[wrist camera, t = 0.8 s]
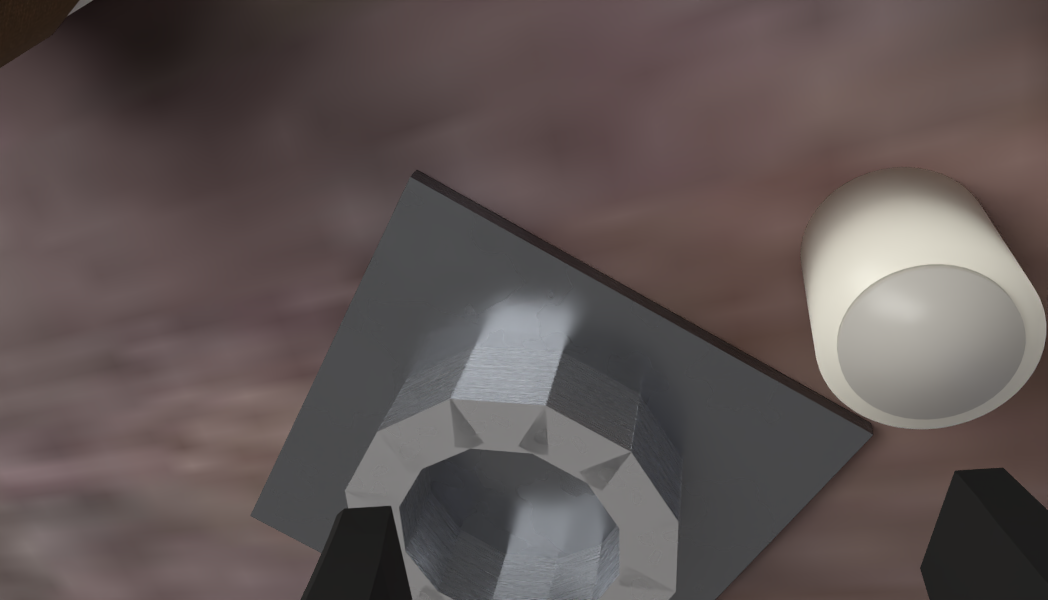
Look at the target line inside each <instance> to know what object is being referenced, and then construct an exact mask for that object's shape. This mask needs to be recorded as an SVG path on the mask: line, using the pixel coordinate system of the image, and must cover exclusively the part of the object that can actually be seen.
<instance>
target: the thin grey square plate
mask: <svg viewBox="0 0 1048 600" xmlns="http://www.w3.org/2000/svg"><path fill="white" fill-rule="evenodd" d="M872 435H873V431H872V427H871V423H869V422H868V421H866V420H864V419H862V418H860V417H859V416H857V415H855V414H853V413H851V412H850V411H848V410H846V409H844V408H842V407H841V406H839V405H837V404H835V403H833V402H832V401H830V400H828V399H826V398H825V397H823V396H821V395H819V394H817V393H816V392H814V391H812V390H810V389H808V388H807V387H805V386H803V385H801V384H799V383H798V382H796V381H794V380H792V379H790V378H789V377H787V376H785V375H783V374H781V373H780V372H778V371H776V370H774V369H773V368H771V367H769V366H767V365H765V364H764V363H762V362H760V361H758V360H756V359H755V358H753V357H751V356H749V355H747V354H746V353H744V352H742V351H740V350H738V349H737V348H735V347H733V346H731V345H729V344H728V343H726V342H724V341H722V340H721V339H719V338H717V337H715V336H713V335H712V334H710V333H708V332H706V331H704V330H703V329H701V328H699V327H697V326H695V325H694V324H692V323H690V322H688V321H686V320H685V319H683V318H681V317H679V316H677V315H676V314H674V313H672V312H670V311H669V310H667V309H665V308H663V307H661V306H660V305H658V304H656V303H654V302H652V301H651V300H649V299H647V298H645V297H643V296H642V295H640V294H638V293H636V292H634V291H633V290H631V289H629V288H627V287H625V286H624V285H622V284H620V283H618V282H617V281H615V280H613V279H611V278H609V277H608V276H606V275H604V274H602V273H600V272H599V271H597V270H595V269H593V268H591V267H590V266H588V265H586V264H584V263H582V262H581V261H579V260H577V259H575V258H573V257H572V256H570V255H568V254H566V253H565V252H563V251H561V250H559V249H557V248H556V247H554V246H552V245H550V244H548V243H547V242H545V241H543V240H541V239H539V238H538V237H536V236H534V235H532V234H530V233H529V232H527V231H525V230H523V229H521V228H520V227H518V226H516V225H514V224H513V223H511V222H509V221H507V220H505V219H504V218H502V217H500V216H498V215H496V214H495V213H493V212H491V211H489V210H487V209H486V208H484V207H482V206H480V205H478V204H477V203H475V202H473V201H471V200H469V199H468V198H466V197H464V196H462V195H461V194H459V193H457V192H455V191H453V190H452V189H450V188H448V187H446V186H444V185H443V184H441V183H439V182H437V181H435V180H434V179H432V178H430V177H428V176H426V175H425V174H423V173H421V172H419V171H417V170H416V171H415V172H414V173H413V174H412V176H411V177H410V179H409V181H408V183H407V185H406V187H405V189H404V191H403V194H402V196H401V198H400V200H399V202H398V204H397V206H396V208H395V211H394V213H393V215H392V217H391V219H390V221H389V223H388V225H387V227H386V230H385V232H384V234H383V236H382V238H381V240H380V242H379V244H378V247H377V249H376V251H375V253H374V255H373V257H372V259H371V261H370V263H369V266H368V268H367V270H366V272H365V274H364V276H363V278H362V280H361V283H360V285H359V287H358V289H357V291H356V293H355V295H354V297H353V300H352V302H351V304H350V306H349V308H348V310H347V312H346V314H345V316H344V319H343V321H342V323H341V325H340V327H339V329H338V331H337V333H336V336H335V338H334V340H333V342H332V344H331V346H330V348H329V350H328V352H327V355H326V357H325V359H324V361H323V363H322V365H321V367H320V369H319V372H318V374H317V376H316V378H315V380H314V382H313V384H312V386H311V389H310V391H309V393H308V395H307V397H306V399H305V401H304V403H303V405H302V408H301V410H300V412H299V414H298V416H297V418H296V420H295V422H294V425H293V427H292V429H291V431H290V433H289V435H288V437H287V439H286V441H285V444H284V446H283V448H282V450H281V452H280V454H279V456H278V458H277V461H276V463H275V465H274V467H273V469H272V471H271V473H270V475H269V478H268V480H267V482H266V484H265V486H264V488H263V490H262V492H261V494H260V497H259V499H258V501H257V503H256V505H255V507H254V509H253V511H252V514H251V516H252V517H254V518H255V519H257V520H259V521H261V522H263V523H265V524H267V525H269V526H271V527H273V528H275V529H276V530H278V531H280V532H282V533H284V534H286V535H288V536H290V537H292V538H294V539H296V540H297V541H299V542H301V543H303V544H305V545H307V546H309V547H311V548H313V549H315V550H317V551H318V552H320V553H322V551H323V549H324V546H325V544H326V541H327V539H328V537H329V534H330V531H331V529H332V526H333V524H334V521H335V518H336V516H337V514H338V513H339V512H341V511H342V510H343V509H344V508H361V507H377V506H391V507H392V512H393V516H394V520H395V525H396V529H397V534H398V538H399V542H400V547H401V551H402V556H403V560H404V564H405V569H406V573H407V578H408V582H409V586H410V591H411V595H412V600H715V599H716V598H717V597H718V596H719V595H720V594H721V593H722V592H723V591H724V590H725V589H726V588H727V587H728V586H729V585H730V584H731V583H732V581H733V580H734V579H735V578H736V577H737V576H738V575H739V574H740V573H741V572H742V571H743V570H744V569H745V568H746V567H747V566H748V565H749V564H750V563H751V562H752V561H753V560H754V559H755V557H756V556H757V555H758V554H759V553H760V552H761V551H762V550H763V549H764V548H765V547H766V546H767V545H768V544H769V543H770V542H771V541H772V540H773V539H774V538H775V537H776V536H777V535H778V534H779V532H780V531H781V530H782V529H783V528H784V527H785V526H786V525H787V524H788V523H789V522H790V521H791V520H792V519H793V518H794V517H795V516H796V515H797V514H798V513H799V512H800V511H801V510H802V508H803V507H804V506H805V505H806V504H807V503H808V502H809V501H810V500H811V499H812V498H813V497H814V496H815V495H816V494H817V493H818V492H819V491H820V490H821V489H822V488H823V487H824V486H825V485H826V483H827V482H828V481H829V480H830V479H831V478H832V477H833V476H834V475H835V474H836V473H837V472H838V471H839V470H840V469H841V468H842V467H843V466H844V465H845V464H846V463H847V462H848V461H849V459H850V458H851V457H852V456H853V455H854V454H855V453H856V452H857V451H858V450H859V449H860V448H861V447H862V446H863V445H864V444H865V443H866V442H867V441H868V440H869V439H870V438H871V437H872Z"/></svg>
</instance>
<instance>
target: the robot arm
mask: <svg viewBox="0 0 1048 600" xmlns="http://www.w3.org/2000/svg"><path fill="white" fill-rule="evenodd" d="M920 569H921V572H922V576H923V579H924V582H925V586H926V589H927V592H928V596H929V599H930V600H1048V510H1047V509H1046V508H1045V507H1044V506H1043V505H1042V504H1041V503H1040V502H1039V501H1037V500H1036V499H1035V498H1034V497H1033V496H1032V495H1031V494H1030V493H1029V492H1028V491H1027V490H1026V489H1025V488H1024V487H1023V486H1022V485H1021V484H1020V483H1019V482H1018V481H1017V480H1015V479H1014V478H1013V477H1012V476H1011V475H1010V474H1009V473H1008V472H1007V471H1006V470H1005V469H1004V468H991V469H975V470H959V471H955V472H954V475H953V477H952V480H951V483H950V486H949V489H948V491H947V494H946V497H945V500H944V503H943V505H942V508H941V511H940V514H939V517H938V520H937V522H936V525H935V528H934V531H933V534H932V536H931V539H930V542H929V545H928V548H927V550H926V553H925V556H924V559H923V562H922V564H921V567H920ZM301 600H412V595H411V591H410V586H409V582H408V578H407V573H406V569H405V564H404V560H403V556H402V551H401V547H400V542H399V538H398V534H397V529H396V525H395V520H394V516H393V512H392V507H391V506H377V507H361V508H344V509H343V510H342V511H341V512H339V513H338V514H337V516H336V518H335V521H334V524H333V526H332V529H331V531H330V534H329V537H328V539H327V541H326V544H325V546H324V549H323V551H322V553H321V556H320V558H319V560H318V563H317V565H316V567H315V570H314V572H313V574H312V576H311V578H310V581H309V583H308V585H307V587H306V589H305V591H304V593H303V596H302V598H301Z"/></svg>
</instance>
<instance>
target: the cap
mask: <svg viewBox="0 0 1048 600" xmlns="http://www.w3.org/2000/svg"><path fill="white" fill-rule="evenodd" d="M800 259H801V267H802V274H803V280H804V286H805V292H806V298H807V304H808V311H809V317H810V323H811V329H812V335H813V341H814V347H815V354H816V359H817V363H818V366H819V370H820V372H821V374H822V376H823V378H824V380H825V382H826V383H827V385H828V386H829V388H830V389H831V391H832V392H833V393H834V394H835V395H836V396H837V397H838V399H839V400H841V401H842V402H843V403H844V404H845V405H847V406H848V407H849V408H851V409H852V410H854V411H855V412H857V413H858V414H860V415H862V416H864V417H866V418H868V419H871V420H873V421H876V422H879V423H882V424H885V425H890V426H894V427H899V428H907V429H935V428H943V427H949V426H954V425H958V424H961V423H965V422H968V421H971V420H973V419H976V418H978V417H981V416H983V415H985V414H987V413H989V412H991V411H992V410H994V409H996V408H997V407H999V406H1000V405H1002V404H1003V403H1005V402H1006V401H1007V400H1009V399H1010V398H1011V397H1012V396H1013V395H1015V394H1016V393H1017V392H1018V391H1019V390H1020V389H1021V388H1022V386H1023V385H1024V384H1025V383H1026V382H1027V381H1028V379H1029V378H1030V376H1031V375H1032V374H1033V372H1034V370H1035V369H1036V367H1037V365H1038V363H1039V361H1040V358H1041V355H1042V352H1043V349H1044V345H1045V340H1046V318H1045V312H1044V308H1043V306H1042V303H1041V300H1040V298H1039V296H1038V294H1037V292H1036V291H1035V289H1034V287H1033V285H1032V284H1031V282H1030V281H1029V279H1028V278H1027V276H1026V275H1025V273H1024V271H1023V270H1022V268H1021V267H1020V265H1019V264H1018V262H1017V261H1016V259H1015V258H1014V256H1013V254H1012V253H1011V251H1010V250H1009V248H1008V247H1007V245H1006V244H1005V242H1004V241H1003V239H1002V237H1001V236H1000V234H999V233H998V231H997V230H996V228H995V227H994V225H993V223H992V222H991V220H990V219H989V217H988V216H987V214H986V213H985V211H984V210H983V208H982V206H981V205H980V203H979V202H978V201H977V200H976V198H975V197H974V196H973V194H971V193H970V192H969V191H968V190H967V189H966V188H965V187H964V186H962V185H961V184H960V183H958V182H957V181H955V180H953V179H951V178H949V177H947V176H945V175H943V174H940V173H937V172H934V171H931V170H926V169H921V168H912V167H895V168H887V169H881V170H877V171H874V172H870V173H867V174H864V175H862V176H859V177H857V178H855V179H853V180H851V181H849V182H847V183H845V184H844V185H842V186H841V187H839V188H838V189H837V190H835V191H834V192H833V193H832V194H831V195H829V196H828V197H827V198H826V199H825V200H824V201H823V202H822V203H821V205H820V206H819V207H818V208H817V209H816V211H815V212H814V214H813V215H812V217H811V219H810V221H809V223H808V225H807V227H806V229H805V232H804V235H803V239H802V244H801V257H800Z"/></svg>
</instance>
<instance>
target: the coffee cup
mask: <svg viewBox="0 0 1048 600" xmlns="http://www.w3.org/2000/svg"><path fill="white" fill-rule="evenodd" d="M91 1H93V0H0V68H1V67H2V66H4V65H5V64H7V63H9V62H10V61H12V60H13V59H15V58H16V57H18V56H20V55H21V54H23V53H24V52H26V51H27V50H29V49H31V48H32V47H34V46H35V45H37V44H38V43H40V42H42V41H43V40H45V39H46V38H48V37H49V36H51V35H53V33H54V32H55V31H56V29H57V28H58V27H59V26H60V24H61V23H62V22H63V21H64V19H65V18H66V17H67V16H69V15H70V14H72V13H73V12H75V11H77V10H78V9H80V8H81V7H83V6H85V5H86V4H88V3H89V2H91Z"/></svg>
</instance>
